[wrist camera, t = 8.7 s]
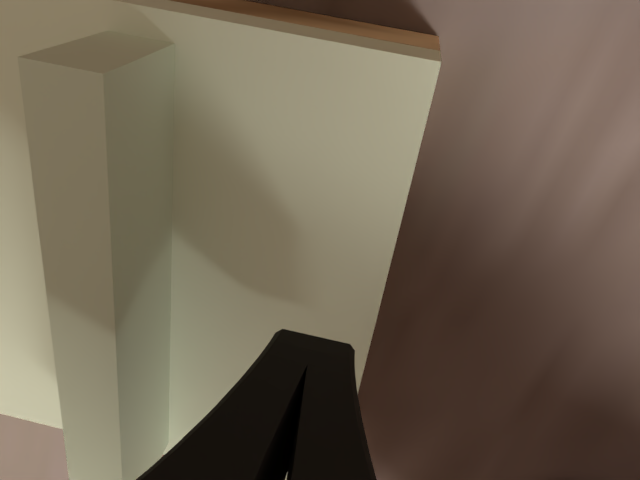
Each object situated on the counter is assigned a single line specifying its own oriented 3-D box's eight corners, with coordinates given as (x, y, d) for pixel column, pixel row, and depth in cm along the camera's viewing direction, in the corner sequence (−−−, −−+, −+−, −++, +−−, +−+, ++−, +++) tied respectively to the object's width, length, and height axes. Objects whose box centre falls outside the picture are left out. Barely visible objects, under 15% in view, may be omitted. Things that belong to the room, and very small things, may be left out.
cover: (440, 50, 10) (446, 100, 7) (337, 464, 15) (315, 592, 12) (-281, -84, 11) (-551, -93, 8) (-133, 349, 16) (-258, 440, 13)
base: (438, 36, 11) (440, 49, 10) (345, 418, 16) (337, 463, 15) (-197, -82, 12) (-278, -84, 11) (-87, 315, 18) (-131, 347, 16)
